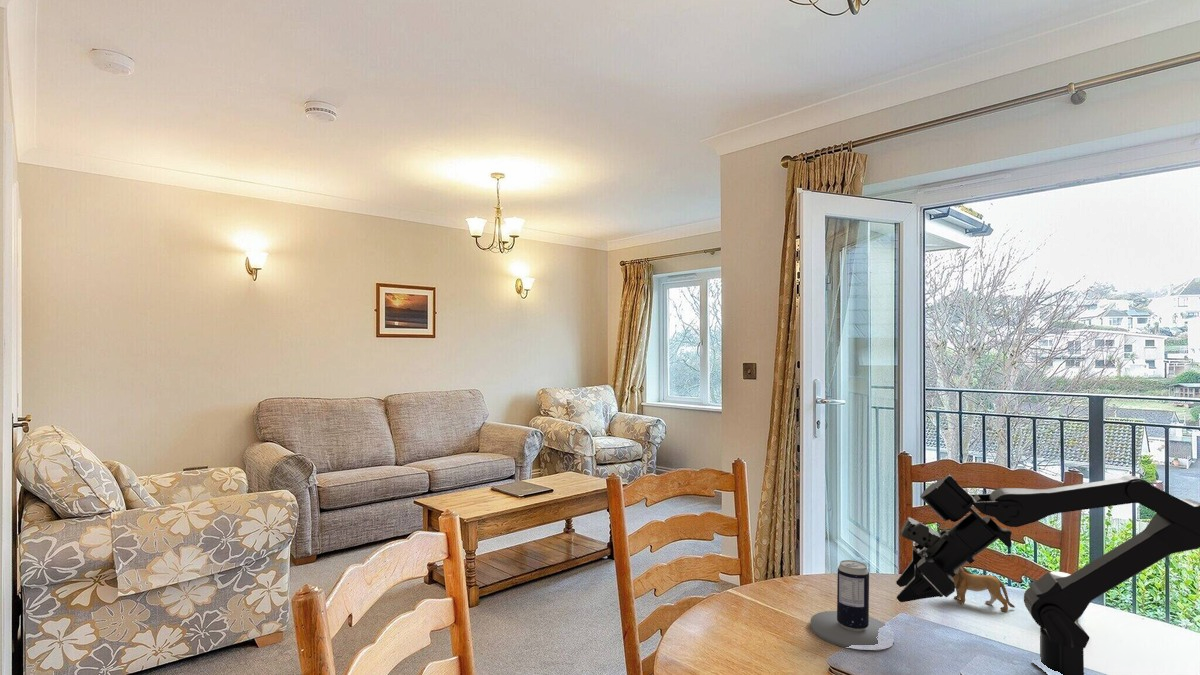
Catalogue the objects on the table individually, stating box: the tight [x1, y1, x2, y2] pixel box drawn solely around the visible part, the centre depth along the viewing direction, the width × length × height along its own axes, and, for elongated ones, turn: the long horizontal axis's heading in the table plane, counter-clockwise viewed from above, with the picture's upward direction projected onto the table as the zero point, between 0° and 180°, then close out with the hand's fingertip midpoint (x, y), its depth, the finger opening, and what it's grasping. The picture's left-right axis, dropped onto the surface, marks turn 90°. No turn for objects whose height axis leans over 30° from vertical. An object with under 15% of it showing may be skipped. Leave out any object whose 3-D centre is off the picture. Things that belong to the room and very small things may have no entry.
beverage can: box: [836, 559, 870, 631], centre depth 118 cm, size 6×6×12 cm
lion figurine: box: [953, 565, 1016, 613], centre depth 134 cm, size 15×5×9 cm, turn 70°
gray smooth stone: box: [810, 610, 886, 649], centre depth 118 cm, size 15×15×1 cm
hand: (898, 592), depth 115 cm, fingers open, 9 cm apart
